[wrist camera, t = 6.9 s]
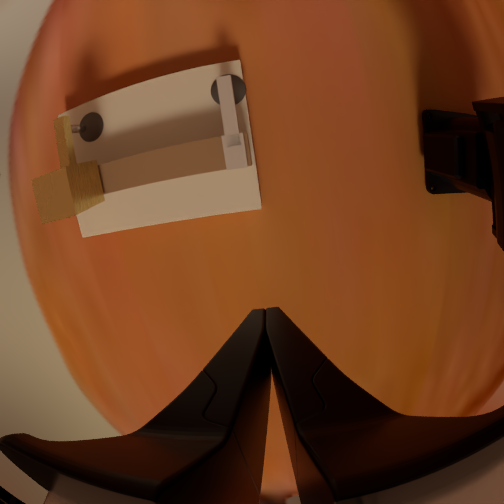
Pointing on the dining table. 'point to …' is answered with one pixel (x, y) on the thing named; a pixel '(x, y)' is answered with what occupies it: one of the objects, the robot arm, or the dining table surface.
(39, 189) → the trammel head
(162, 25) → the dining table surface
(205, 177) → the gauge board
